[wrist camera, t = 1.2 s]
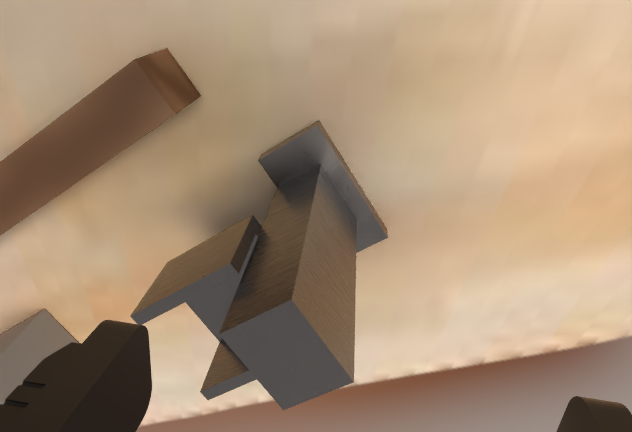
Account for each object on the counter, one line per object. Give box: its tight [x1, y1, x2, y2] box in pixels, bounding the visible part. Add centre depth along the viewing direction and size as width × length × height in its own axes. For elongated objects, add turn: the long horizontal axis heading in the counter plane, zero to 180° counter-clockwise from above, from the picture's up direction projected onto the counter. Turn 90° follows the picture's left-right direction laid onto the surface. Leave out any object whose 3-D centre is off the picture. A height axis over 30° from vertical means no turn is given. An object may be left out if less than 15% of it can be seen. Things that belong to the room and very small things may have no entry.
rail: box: [0, 48, 201, 235], centre depth 29 cm, size 3×26×4 cm, turn 123°
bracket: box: [131, 121, 388, 410], centre depth 24 cm, size 8×10×14 cm
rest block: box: [0, 309, 78, 404], centre depth 33 cm, size 5×5×7 cm
